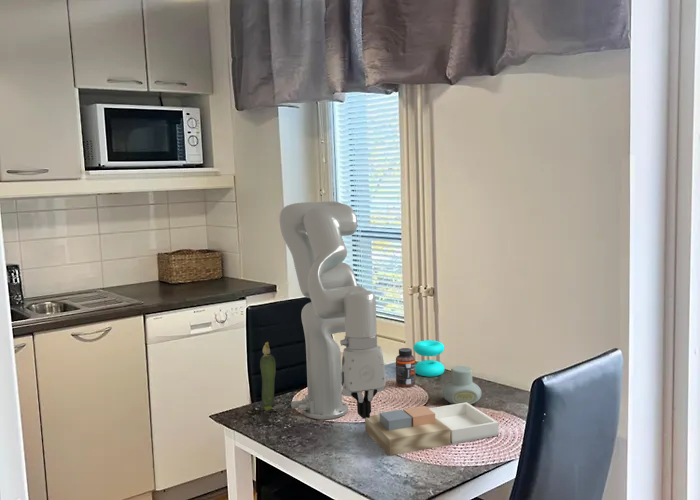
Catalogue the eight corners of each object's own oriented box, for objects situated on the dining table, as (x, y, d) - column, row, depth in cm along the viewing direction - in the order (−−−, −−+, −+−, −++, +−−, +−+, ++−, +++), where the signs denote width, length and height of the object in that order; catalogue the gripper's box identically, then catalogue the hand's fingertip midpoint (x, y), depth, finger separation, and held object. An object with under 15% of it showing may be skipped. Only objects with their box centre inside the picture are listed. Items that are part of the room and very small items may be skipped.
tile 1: (389, 430, 169) (388, 421, 168) (379, 422, 174) (379, 412, 174) (411, 426, 171) (411, 417, 170) (401, 418, 176) (401, 409, 176)
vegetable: (262, 407, 199) (259, 339, 196) (277, 406, 199) (274, 338, 197) (261, 412, 194) (258, 343, 192) (277, 412, 195) (274, 342, 192)
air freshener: (477, 397, 202) (477, 363, 201) (484, 407, 194) (484, 372, 193) (440, 398, 202) (440, 365, 201) (445, 408, 194) (444, 373, 193)
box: (452, 444, 169) (452, 430, 169) (423, 422, 184) (423, 409, 184) (498, 435, 174) (498, 422, 173) (466, 414, 189) (466, 402, 188)
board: (389, 455, 164) (389, 439, 163) (365, 431, 179) (365, 416, 178) (450, 444, 169) (450, 428, 169) (421, 422, 184) (421, 407, 184)
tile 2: (413, 426, 171) (413, 417, 171) (403, 418, 176) (403, 409, 176) (435, 422, 173) (435, 413, 173) (424, 414, 178) (424, 405, 178)
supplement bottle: (414, 388, 212) (413, 352, 210) (394, 387, 213) (394, 351, 211) (416, 382, 217) (415, 347, 216) (397, 381, 219) (396, 346, 217)
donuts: (450, 344, 223) (422, 348, 219) (450, 374, 224) (423, 379, 220) (434, 337, 232) (407, 341, 228) (434, 367, 233) (408, 371, 229)
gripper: (337, 349, 161) (340, 426, 162) (396, 341, 166) (399, 416, 167) (327, 342, 168) (330, 416, 169) (384, 335, 173) (386, 407, 174)
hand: (364, 416), depth 168 cm, fingers closed
